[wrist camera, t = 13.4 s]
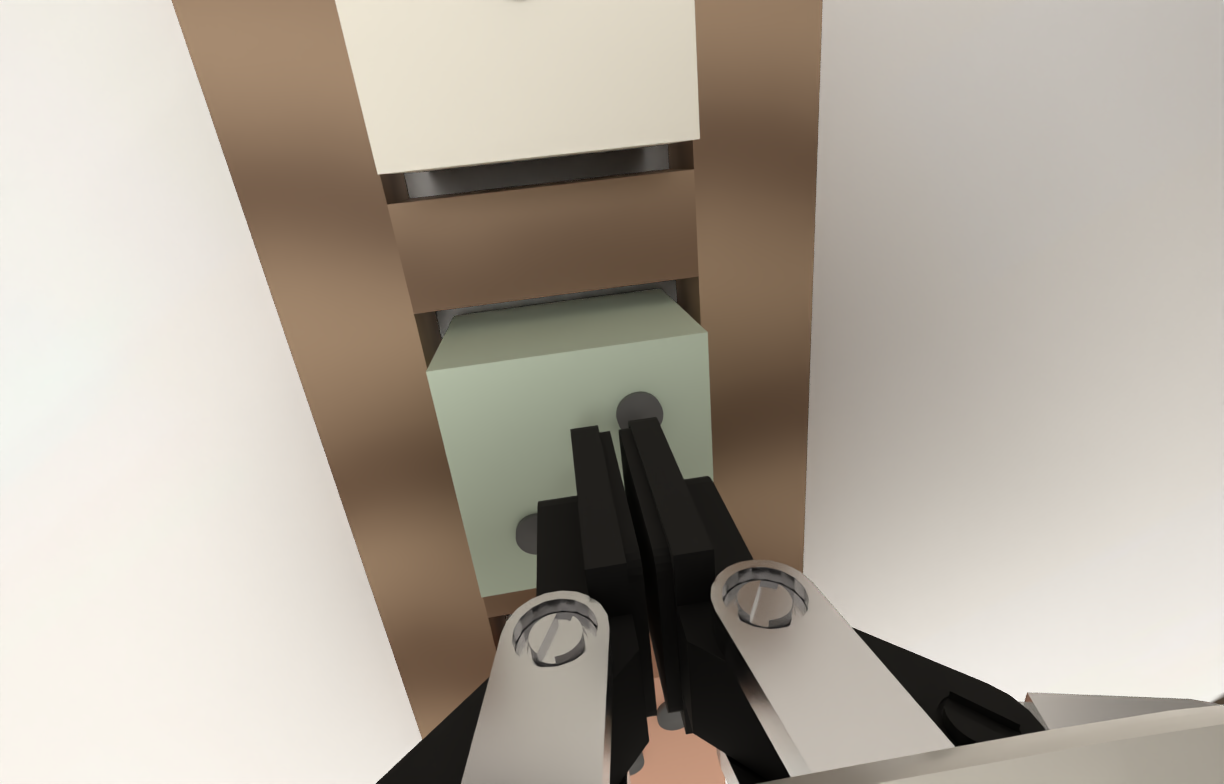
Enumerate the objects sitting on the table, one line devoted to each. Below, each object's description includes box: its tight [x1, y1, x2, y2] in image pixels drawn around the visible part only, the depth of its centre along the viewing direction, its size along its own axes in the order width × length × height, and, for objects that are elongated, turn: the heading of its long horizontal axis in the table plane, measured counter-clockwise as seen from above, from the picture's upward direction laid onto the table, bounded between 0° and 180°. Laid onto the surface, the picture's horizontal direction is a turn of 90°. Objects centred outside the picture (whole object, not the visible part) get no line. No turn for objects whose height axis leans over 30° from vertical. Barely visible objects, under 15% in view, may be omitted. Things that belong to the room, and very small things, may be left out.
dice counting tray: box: [172, 0, 823, 740], centre depth 16 cm, size 29×13×2 cm, turn 6°
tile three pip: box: [629, 633, 725, 784], centre depth 18 cm, size 6×6×5 cm
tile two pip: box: [426, 288, 713, 598], centre depth 15 cm, size 6×6×5 cm
